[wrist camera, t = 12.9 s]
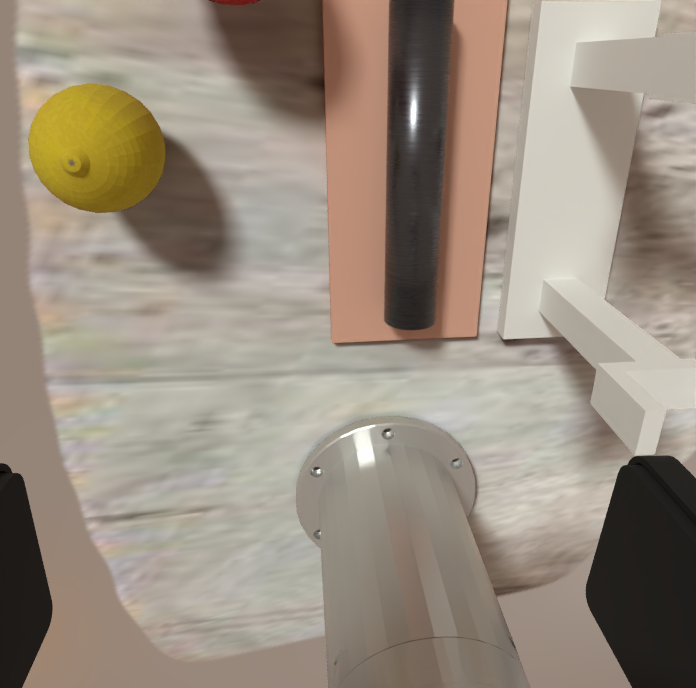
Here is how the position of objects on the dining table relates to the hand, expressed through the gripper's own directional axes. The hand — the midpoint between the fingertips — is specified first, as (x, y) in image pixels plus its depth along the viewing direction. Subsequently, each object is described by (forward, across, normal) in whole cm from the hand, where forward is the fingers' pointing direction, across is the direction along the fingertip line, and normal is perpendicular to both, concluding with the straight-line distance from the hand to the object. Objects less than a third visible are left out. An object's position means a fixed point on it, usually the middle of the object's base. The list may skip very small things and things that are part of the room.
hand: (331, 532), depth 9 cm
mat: (+26, -6, -2) cm, 26 cm away
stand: (+26, -15, -2) cm, 30 cm away
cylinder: (+24, -6, -2) cm, 24 cm away
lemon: (+26, +10, -3) cm, 28 cm away
